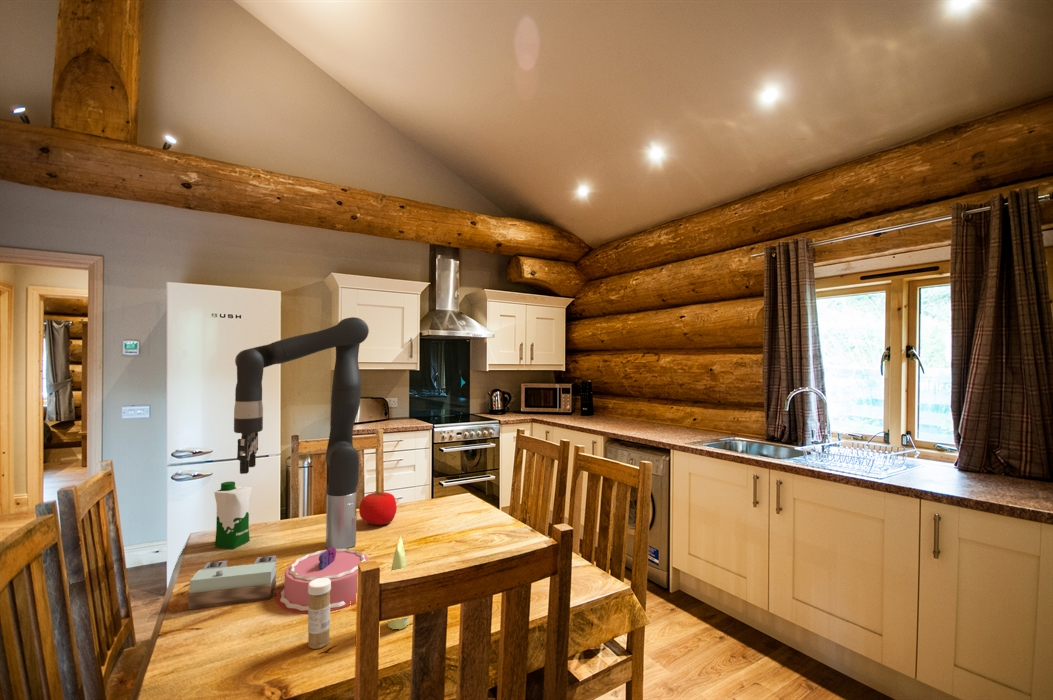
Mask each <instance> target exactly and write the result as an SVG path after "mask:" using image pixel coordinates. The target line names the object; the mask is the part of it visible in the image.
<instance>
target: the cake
mask: <svg viewBox="0 0 1053 700" xmlns="http://www.w3.org/2000/svg"><path fill="white" fill-rule="evenodd" d="M363 561H369V562H370V559H369V556H367V555H366V554H365V553H364V552H361V551H358V550H357V549H356V550H355V549H349V548H346V549H335V548H329V549H328V548H327V549H324V550H323V549H322V550H318V551H315V552H311V553H307V554H305V555H304V556H302V557H300V558H297V559H296V560H295V561H292V562H291V563H289V565H288V566H287V567H286V569H285V570H284V571H285V572H284V583H283V584H284V585H283V586H281V588H280V589H278V591H277V593H276V596H275V603H276V605H277V606H278V607H279V608H280V609H282V610H284V611H286V612H290V613H294V614H300V615H308V607H309V593H308V584H309V583H310V582H311V581H312V580H315V579H318V578H328V579H330V581H331V589H330V613H331V612H335V611H338V610H342V609H346V608H348V607H351V606H354V605H356V604H357V603H356V593H357V574H358V564H359V563H360V562H363ZM350 601H351V604H350ZM350 605H351V606H350Z"/></svg>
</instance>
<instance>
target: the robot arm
mask: <svg viewBox="0 0 1053 700" xmlns="http://www.w3.org/2000/svg"><path fill="white" fill-rule="evenodd" d="M369 330H370V329H369V326H368V324H367V323H366V321H365V320H362V318H360V317H356V316H355V317H352V316H351V317H346V318H344V319H341V320H340V321H339V322H338V323H337V324H335V325H333V326H331V327H328V328H325V329H322V330H318V331H313V332H309V333H304V334H300V335H294V336H291V337H288V338H283V339H280V340H277V341H273V342H271V343H268V344H264V345H260V346H255V347H251V348H247V349H244V350H241V351H239V352H238V354H236V356H235V359H234V360H235V361H234V363H235V366H236V384H235V393H234V395H235V396H234V397H235V399H234V408H233V410H234V411H233V432H234V433H235V434H241V438H238V439H237V452H236V453H237V455H236V459H237V461H239V474H241V475H247V474H248V473H249V471H250V468H255V467H256V465H257V463H256V460H257V459H256V454H257V453H258V450H259V433H260V432H261V431H263V429H264V428H263V427H264V426H263V425H264V422H263V421H264V405H263V404H264V403H263V379H264V378H263V377H264V369H265V368H267V367H271V366H274V365H280V364H285V363H288V362H291V361H294V360H298V359H301V358H304V357H307V356H310V355H312V354H315V353H318V352H322V351H325V350H330V349H332V348H335V363H334V369H333V376H332V385H331V397H330V398H331V399H330V428H329V429H330V431H329V434H328V435H329V436H328V442H327V447H326V451H325V462H326V464H327V465H328V470H329V473H328V483H327V484H326V520H325V521H326V523H325V525H326V528H325V547H326V548H327V549H329V548H335V549H349V548H351V547H356V546H357V545H356V543H357V487H358V483H359V473H360V456H359V453H358V451H357V449H356V448H354V445H353V443H354V442H353V440H354V439H353V433H354V425H355V422H356V419H357V415H358V413H359V409H360V404H361V399H362V398H361V397H362V377H361V371H360V366H359V352H360V344H362V343H363V342H365V341H366V339H367V337H368V336H369V333H370V331H369Z"/></svg>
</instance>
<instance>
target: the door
mask: <svg viewBox="0 0 1053 700" xmlns="http://www.w3.org/2000/svg"><path fill="white" fill-rule="evenodd" d="M268 556H269V562H261V558H262V557H263V556H257V558H256V560H255V561H254V563H251V564H242V565H233V566H228V560H218V561H219V567H211V563H212V562H213V561H207V563H205V564H204V567H203V568H202V569H198V570H197V571H196V573H195V574H194V575H193V577H191V579H190V580H189V594H190V593H199V592H208V591H216V590H225V589H233V588H242V587H250V586H259V585H267V584H271V583H272V580H273V578H274V576H275V574H276V575H277V572H276V568H277V555H268Z"/></svg>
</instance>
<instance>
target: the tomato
mask: <svg viewBox="0 0 1053 700" xmlns="http://www.w3.org/2000/svg"><path fill="white" fill-rule="evenodd" d="M396 501H397V500H396V497H395V495H394V494H392V493H389V492H386V491H385V492H384V491H374V492H371V493H368V494H367V495H365V496H363V497H362V499H361V501H360V504H359V508H358V510H359V511H358V512H359V516H360V518H361V520H362V521H363V522H365V523H367V524H371V525H374V526H375V525H376V526H377V525H379V526H380V525H381V526H383V525H387V524H389V523H391V522H392V521H393V519H394V518H395V516H396V515H397V514H396V513H397V502H396Z"/></svg>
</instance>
